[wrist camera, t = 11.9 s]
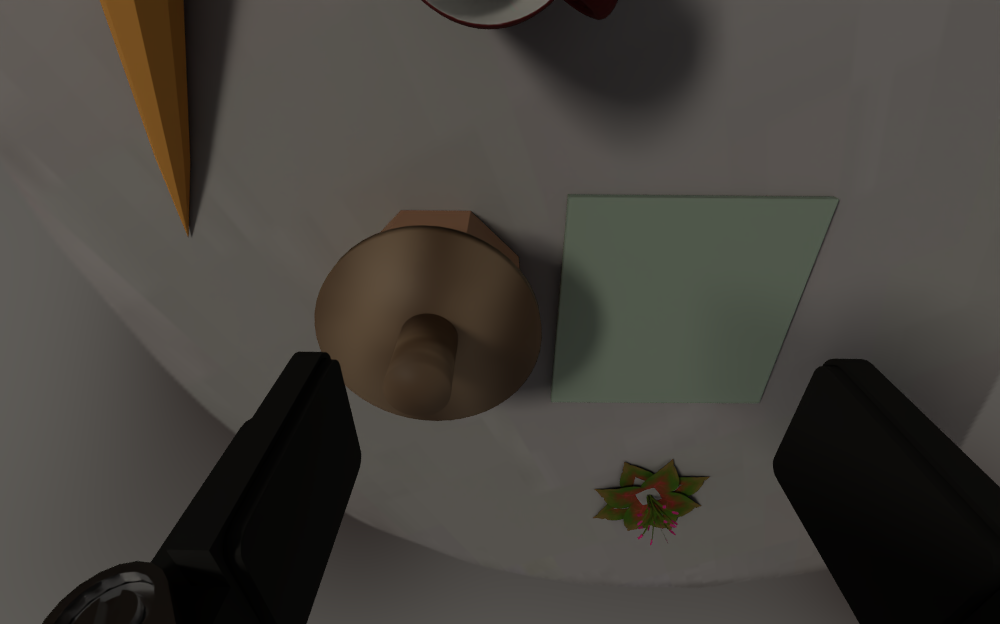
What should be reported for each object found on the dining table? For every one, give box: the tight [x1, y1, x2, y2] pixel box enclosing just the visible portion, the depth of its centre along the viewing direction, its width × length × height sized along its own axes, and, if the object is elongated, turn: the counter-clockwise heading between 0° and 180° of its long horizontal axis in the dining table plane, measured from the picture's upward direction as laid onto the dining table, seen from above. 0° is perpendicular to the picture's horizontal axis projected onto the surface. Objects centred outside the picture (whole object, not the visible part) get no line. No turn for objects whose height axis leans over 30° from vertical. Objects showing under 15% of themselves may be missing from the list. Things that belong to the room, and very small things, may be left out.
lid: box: [315, 225, 542, 421], centre depth 27 cm, size 14×14×6 cm
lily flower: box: [593, 459, 709, 545], centre depth 46 cm, size 12×12×5 cm
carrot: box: [100, 0, 190, 238], centre depth 27 cm, size 20×4×4 cm, turn 167°
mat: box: [551, 194, 839, 403], centre depth 36 cm, size 18×18×1 cm
